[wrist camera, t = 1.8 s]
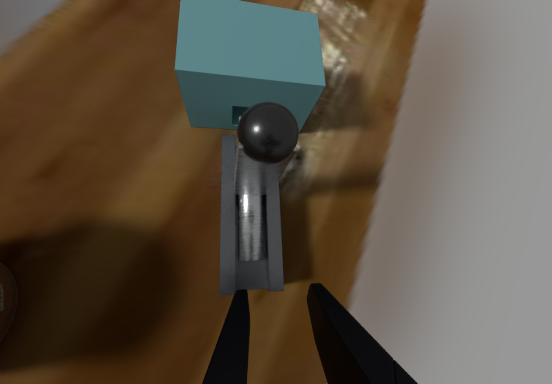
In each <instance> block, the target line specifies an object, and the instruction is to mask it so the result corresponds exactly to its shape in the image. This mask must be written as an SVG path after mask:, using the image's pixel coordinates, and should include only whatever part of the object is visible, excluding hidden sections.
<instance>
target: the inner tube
mask: <svg viewBox="0 0 552 384" xmlns="http://www.w3.org/2000/svg"><path fill="white" fill-rule="evenodd" d="M298 136H299V130H298V125H297V121H296V119H295V117H294V115H293V114H292V113H291V111H290V110H289V109H288V108H286V107H285V106H283V105H282V104H280V103H277V102H273V101H263V102H258V103H256V104H254V105H252V106H251V107H249V108H248V109H247V110H246V111H245V112H244V113H243V115H242V116H241V117H239V123H238V128H237V148H236V160H235V172H234V194H238V261H257V260H264V239H263V205H262V195H268V194H269V193H270V191H271V190H272V188H273V187H274V185H275V183H276V182H277V180H278V179H279V177H280V176H281V174H282V173H283V171H284V170H285V168H286V166H287V165H288V163H289V162H290V160H291V159H292V157H293V156H294V154H295V153H296V151H297V148H296V144H297V141H298Z"/></svg>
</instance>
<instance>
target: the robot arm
mask: <svg viewBox="0 0 552 384" xmlns="http://www.w3.org/2000/svg"><path fill="white" fill-rule="evenodd" d="M307 304H308V309H309V314H310V319H311V324H312V329H313V334H314V339H315V343H316V347H317V350H318V353H319V356H320V360H321V363H322V366H323V370H324V373H325V376H326V379H327V383H328V384H418V383H417V382H416V381H415V380H414V379H413V378H411V376H410V375H409V374H408V373H407V372H406V371H405V370H404V369H403V368H402V367H401V366H400V365H399V364H398V363H397V362H396V361H395V360H393V358H392V357H391V356H390V355H389V354H388V353H387V352H386V351H385V350H384V349H383V347H382V346H380V344H379V343H378V342H377V341H376V340H375V339H374V338H373V337H372V336H371V335H370V334H369V333H368V332H367V331H366V330H365V329H364V328H363V327H362V326H361V325H360V323H358V321H357V320H356V319H355V318H354V317H353V316H352V315H351V314H350V313H349V312H348V311H347V310H346V309H345V308H344V307H343V306H342V305H341V304H340V303H339V302H338V301H337V300H336V298H335V297H334V296H333V295H332V294H331V293H330V292H329V291H328V290H327V289H326V288H325V287H324V286H323V285H322V284H321V283H312V284H310V287H309V291H308V295H307ZM249 336H250V312H249V302H248V293H247V289H246V288H243V289H237V290H236V291H235V294H234V297H233V300H232V302H231V305H230V308H229V311H228V314H227V316H226V319H225V322H224V325H223V327H222V330H221V333H220V336H219V338H218V341H217V344H216V347H215V350H214V352H213V355H212V358H211V361H210V363H209V366H208V369H207V372H206V374H205V377H204V380H203V383H202V384H247V371H248V353H249Z"/></svg>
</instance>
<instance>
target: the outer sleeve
mask: <svg viewBox="0 0 552 384" xmlns="http://www.w3.org/2000/svg"><path fill="white" fill-rule="evenodd" d="M236 148H237V146H235V135H222V184H221V237H220V291H219V296H221V295H234V294H235V291H236V290H237V289H243V288H246V289H247V290H253V289H267V290H268V291H270V292H273V291H284V278H283V258H282V238H281V218H280V197H279V179H278V180H277V182H276V183H275V185H274V187H273V188H272V190H271V191H270V193H269V194H268V195H262V205H263V239H264V260H257V261H238V194H234V172H235V160H236Z"/></svg>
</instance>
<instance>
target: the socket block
mask: <svg viewBox="0 0 552 384" xmlns="http://www.w3.org/2000/svg"><path fill="white" fill-rule="evenodd" d="M175 72H176V76H177V79H178V83H179V86H180V90H181V93H182V97H183V101H184V104H185V108H186V111H187V115H188V119H189V122H190V126H191V127H204V128H220V129H235V130H237V128H238V123H239V117H241V116H242V115H243V113H244V112H245V111H246V110H247V109H248V108H249V107H251V106H252V105H254V104H256V103H258V102H263V101H273V102H277V103H280V104H282V105H283V106H285V107H286V108H288V109H289V110H290V111H291V113H292V114H293V115H294V117H295V119H296V121H297V125H298V130H299V132H300V130H301V128H302V127H303V125H304V123H305V121H306V120H307V118H308V116H309V114H310V113H311V111H312V109H313V107H314V106H315V104H316V102H317V100H318V99H319V97H320V95H321V93H322V92H323V90H324V88H325V86H326V84H325V76H324V67H323V59H322V51H321V42H320V34H319V25H318V17H317V14H313V13H308V12H302V11H296V10H291V9H285V8H279V7H273V6H268V5H262V4H256V3H250V2H245V1H239V0H181V3H180V15H179V26H178V38H177V50H176V61H175Z"/></svg>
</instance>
